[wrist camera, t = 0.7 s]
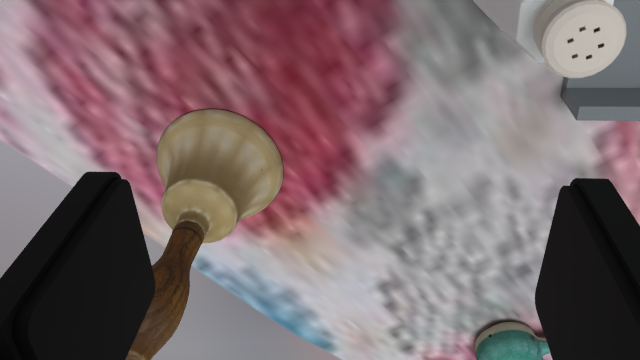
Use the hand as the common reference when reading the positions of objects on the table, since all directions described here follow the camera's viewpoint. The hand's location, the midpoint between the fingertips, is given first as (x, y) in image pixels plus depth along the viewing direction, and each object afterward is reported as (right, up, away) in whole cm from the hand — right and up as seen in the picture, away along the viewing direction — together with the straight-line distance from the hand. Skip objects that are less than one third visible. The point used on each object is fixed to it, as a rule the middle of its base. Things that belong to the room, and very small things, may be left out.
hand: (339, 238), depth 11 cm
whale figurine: (+15, -12, +33) cm, 38 cm away
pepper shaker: (+10, +12, +18) cm, 24 cm away
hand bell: (-7, +2, +26) cm, 27 cm away
